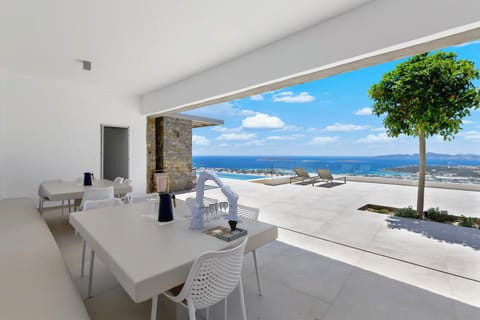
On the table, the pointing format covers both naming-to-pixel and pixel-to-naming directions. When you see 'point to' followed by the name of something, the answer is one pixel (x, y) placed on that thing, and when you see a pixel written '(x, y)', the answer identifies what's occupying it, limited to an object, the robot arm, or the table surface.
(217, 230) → the cream tile
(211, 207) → the goblet set
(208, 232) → the walnut board
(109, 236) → the table surface
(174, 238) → the table surface
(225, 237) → the tray
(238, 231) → the sage tile
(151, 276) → the table surface
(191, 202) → the heart sculpture
